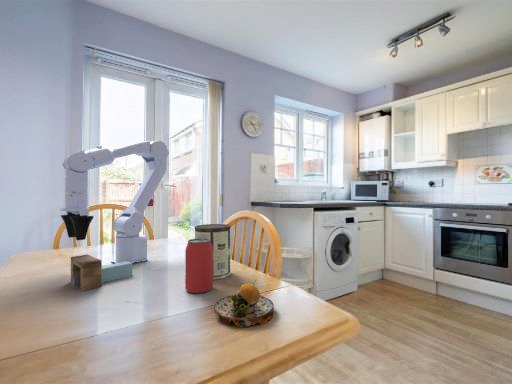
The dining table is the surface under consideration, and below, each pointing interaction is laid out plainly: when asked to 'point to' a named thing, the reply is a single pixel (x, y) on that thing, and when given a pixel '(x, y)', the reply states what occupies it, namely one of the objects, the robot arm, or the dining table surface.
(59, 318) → the dining table surface
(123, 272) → the light blue pillar
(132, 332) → the dining table surface
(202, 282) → the beer can
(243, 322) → the plated food dish
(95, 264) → the brown block
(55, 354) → the dining table surface
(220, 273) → the coffee can
